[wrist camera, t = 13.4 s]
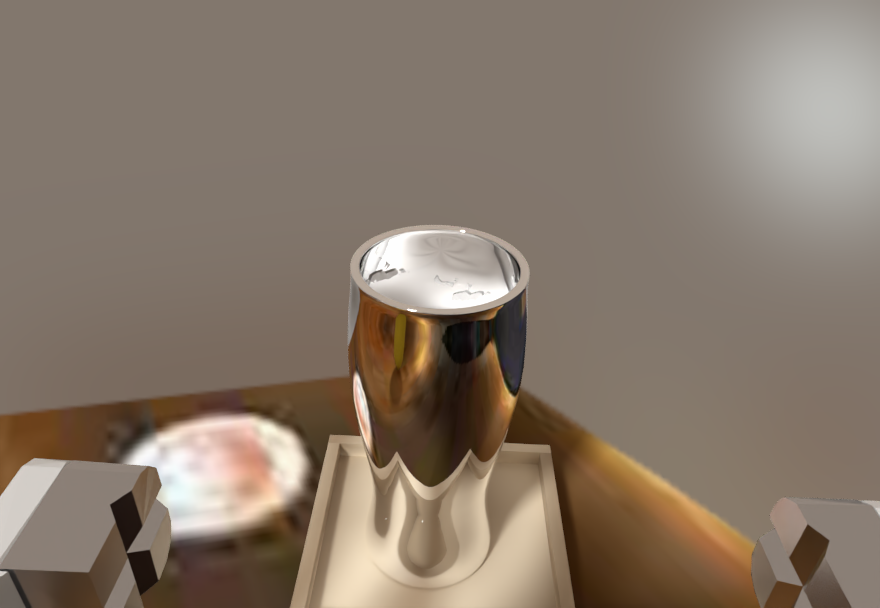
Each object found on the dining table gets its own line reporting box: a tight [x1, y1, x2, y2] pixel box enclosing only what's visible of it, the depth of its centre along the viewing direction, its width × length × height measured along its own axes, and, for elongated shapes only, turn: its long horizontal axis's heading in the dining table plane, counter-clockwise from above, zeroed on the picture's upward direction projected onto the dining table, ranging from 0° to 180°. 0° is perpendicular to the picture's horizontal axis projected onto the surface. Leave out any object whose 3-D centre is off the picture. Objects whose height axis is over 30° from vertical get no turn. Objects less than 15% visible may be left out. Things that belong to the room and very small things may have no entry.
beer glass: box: [348, 225, 530, 589], centre depth 29 cm, size 7×7×15 cm
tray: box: [290, 435, 575, 608], centre depth 33 cm, size 12×11×2 cm
